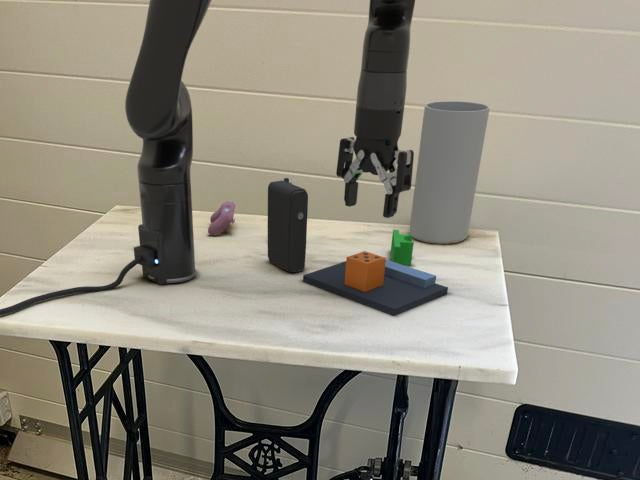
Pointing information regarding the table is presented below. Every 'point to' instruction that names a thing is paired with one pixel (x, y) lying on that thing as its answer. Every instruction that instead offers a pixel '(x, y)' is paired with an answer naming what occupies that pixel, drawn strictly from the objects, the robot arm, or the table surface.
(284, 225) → the dark grey rounded box
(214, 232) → the purple rounded lump
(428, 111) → the cylinder vase
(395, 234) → the pipe clamp
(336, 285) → the bed mat
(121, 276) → the robot arm
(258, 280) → the table surface
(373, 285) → the die
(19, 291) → the table surface
